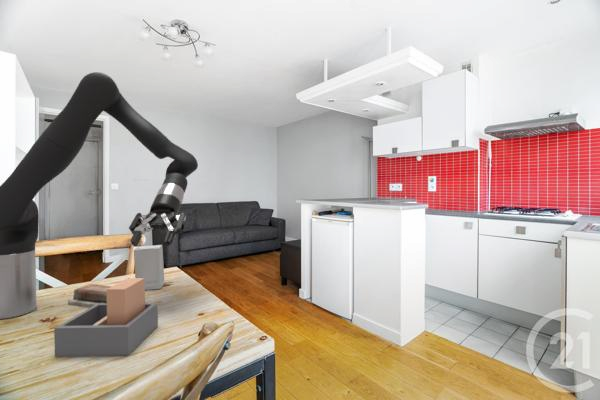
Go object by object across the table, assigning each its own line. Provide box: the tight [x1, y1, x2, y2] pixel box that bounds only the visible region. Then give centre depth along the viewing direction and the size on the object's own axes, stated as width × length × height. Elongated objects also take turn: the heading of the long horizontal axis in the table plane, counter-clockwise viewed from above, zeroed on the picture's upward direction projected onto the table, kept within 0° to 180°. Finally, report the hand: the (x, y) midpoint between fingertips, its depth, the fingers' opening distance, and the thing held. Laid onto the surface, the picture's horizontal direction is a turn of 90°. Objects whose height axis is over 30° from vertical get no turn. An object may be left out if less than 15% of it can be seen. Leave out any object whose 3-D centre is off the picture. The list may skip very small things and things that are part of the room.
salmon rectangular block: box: [106, 277, 146, 325], centre depth 66 cm, size 4×8×12 cm, turn 1°
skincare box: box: [133, 244, 166, 291], centre depth 101 cm, size 8×6×15 cm
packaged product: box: [67, 283, 113, 309], centre depth 88 cm, size 18×5×10 cm
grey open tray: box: [53, 302, 159, 358], centre depth 65 cm, size 15×13×6 cm
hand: (150, 245), depth 76 cm, fingers open, 8 cm apart
